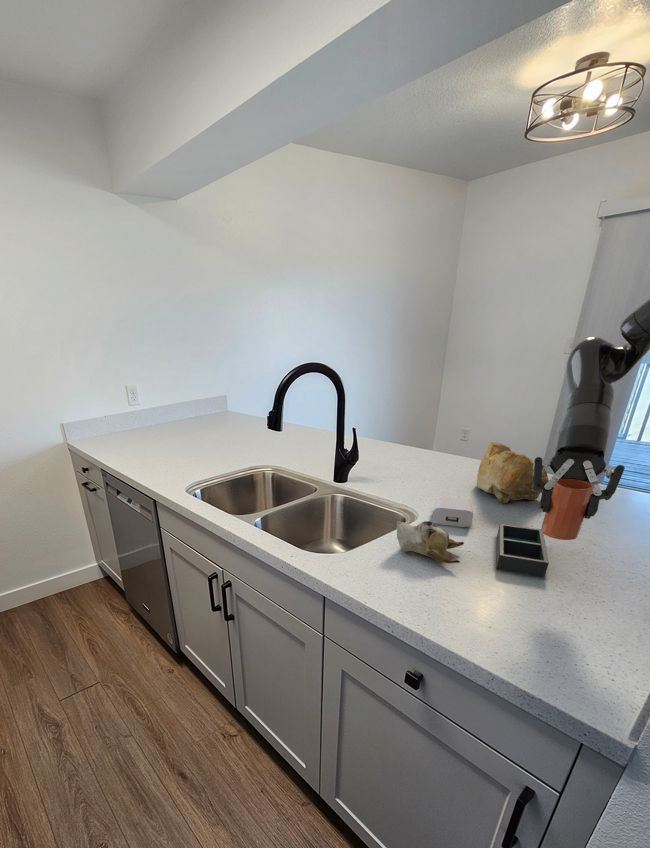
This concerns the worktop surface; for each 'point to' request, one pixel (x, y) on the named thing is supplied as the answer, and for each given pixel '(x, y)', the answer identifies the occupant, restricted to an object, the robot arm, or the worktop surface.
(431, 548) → the ceramic sculpture
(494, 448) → the rough brown rock
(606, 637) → the worktop surface
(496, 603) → the worktop surface
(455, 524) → the charger
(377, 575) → the worktop surface
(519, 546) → the holder
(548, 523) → the cup
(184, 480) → the worktop surface
